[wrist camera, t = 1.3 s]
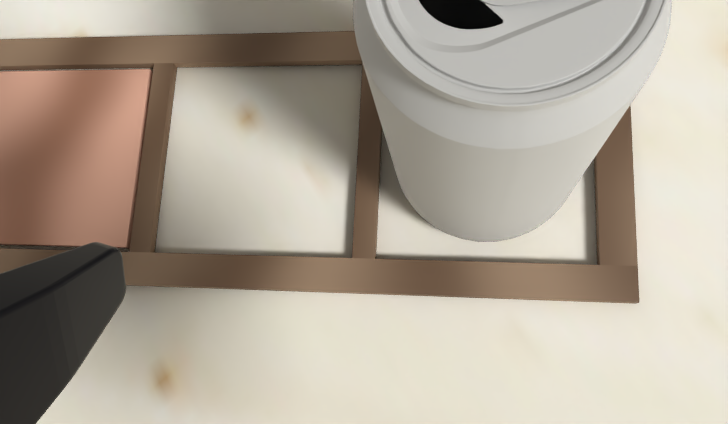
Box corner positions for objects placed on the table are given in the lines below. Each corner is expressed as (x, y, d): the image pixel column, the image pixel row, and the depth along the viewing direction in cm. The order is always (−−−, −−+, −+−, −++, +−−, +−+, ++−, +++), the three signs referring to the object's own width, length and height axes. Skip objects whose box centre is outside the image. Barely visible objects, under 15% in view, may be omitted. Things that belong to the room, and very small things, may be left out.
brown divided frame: (624, 30, 24) (626, 24, 24) (635, 303, 22) (639, 302, 21) (-33, 44, 28) (-40, 40, 27) (-80, 277, 26) (-88, 276, 25)
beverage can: (390, 88, 25) (331, -156, 13) (563, 67, 24) (663, -211, 12) (403, 253, 23) (349, 142, 12) (588, 237, 22) (729, 102, 11)
